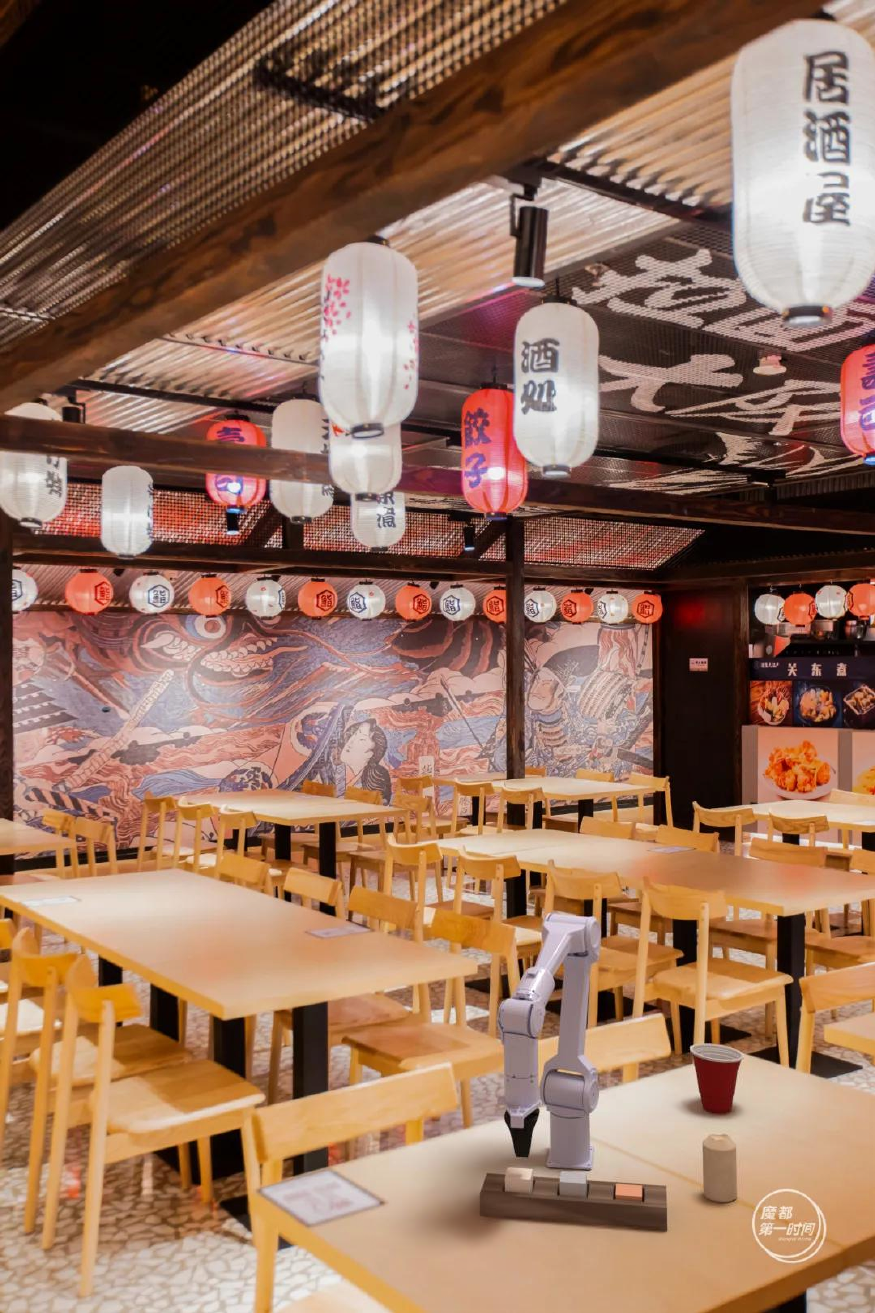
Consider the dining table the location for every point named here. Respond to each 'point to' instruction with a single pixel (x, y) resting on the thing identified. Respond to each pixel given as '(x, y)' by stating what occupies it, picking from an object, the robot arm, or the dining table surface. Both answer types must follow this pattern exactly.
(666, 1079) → the dining table surface
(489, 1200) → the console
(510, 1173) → the beige cube
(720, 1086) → the plastic cup
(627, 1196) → the orange cube
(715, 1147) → the candle
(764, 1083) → the dining table surface
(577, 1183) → the light gray cube
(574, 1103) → the robot arm
